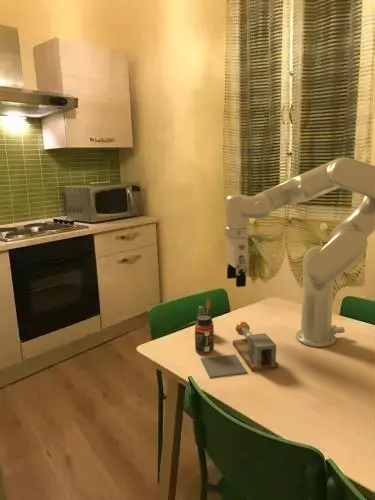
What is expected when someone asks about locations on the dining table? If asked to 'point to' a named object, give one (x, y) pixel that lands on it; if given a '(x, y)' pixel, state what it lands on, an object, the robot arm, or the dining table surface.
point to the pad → (223, 366)
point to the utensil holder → (204, 311)
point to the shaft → (243, 329)
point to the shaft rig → (257, 352)
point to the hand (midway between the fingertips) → (236, 282)
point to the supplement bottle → (204, 335)
